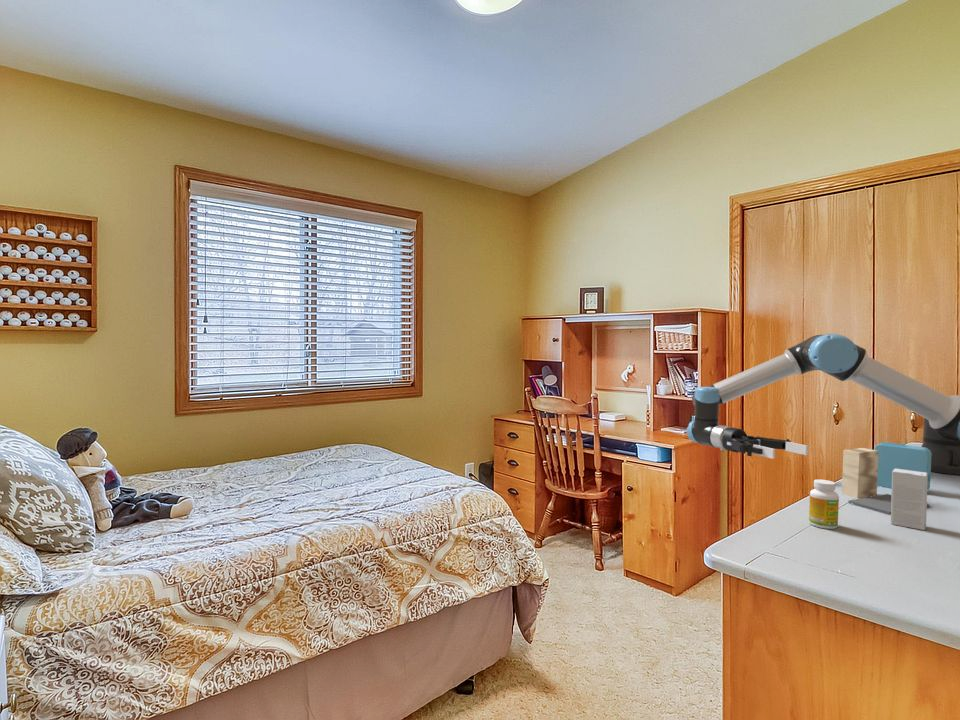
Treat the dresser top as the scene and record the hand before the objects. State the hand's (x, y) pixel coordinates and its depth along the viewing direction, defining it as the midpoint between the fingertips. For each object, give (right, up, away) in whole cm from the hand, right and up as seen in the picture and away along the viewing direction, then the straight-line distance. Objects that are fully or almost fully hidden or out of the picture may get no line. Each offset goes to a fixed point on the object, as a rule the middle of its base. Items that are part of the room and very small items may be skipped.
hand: (790, 452), depth 153 cm
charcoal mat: (+14, -10, -19) cm, 25 cm away
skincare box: (+7, -11, -33) cm, 36 cm away
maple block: (+12, -10, -10) cm, 19 cm away
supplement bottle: (-13, -11, -34) cm, 38 cm away
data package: (+29, -10, -3) cm, 30 cm away
